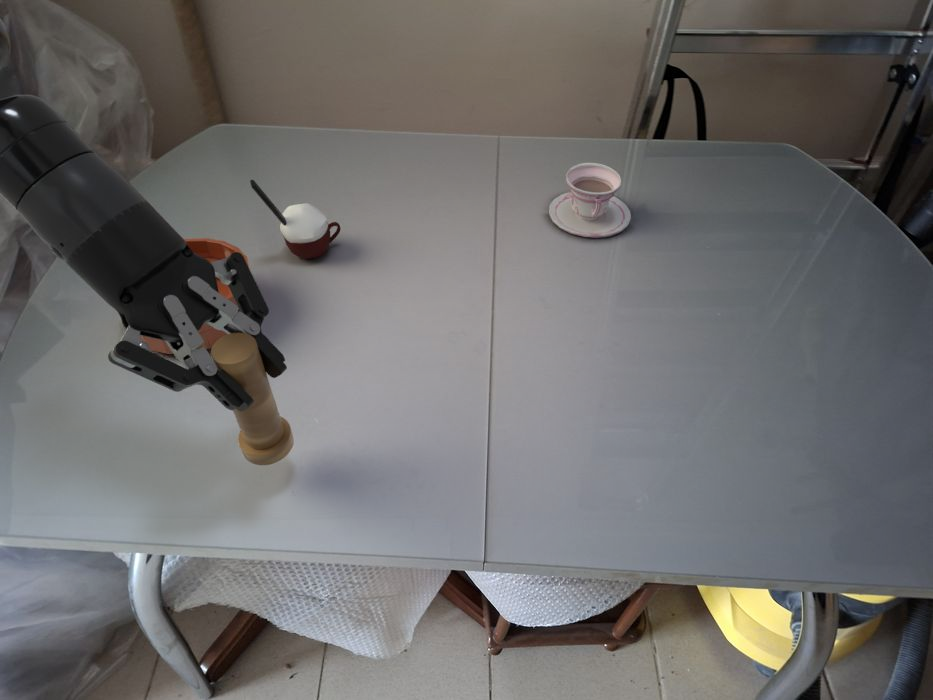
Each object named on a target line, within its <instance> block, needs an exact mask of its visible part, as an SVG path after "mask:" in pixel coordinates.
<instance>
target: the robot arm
mask: <svg viewBox="0 0 933 700" xmlns="http://www.w3.org/2000/svg"><path fill="white" fill-rule="evenodd" d="M11 46H12V45H11V38H10V33H9V31H8V29H7V27H6V25H5V23H4V21H3V20H2V19H1V17H0V71H1V70H2V69H3V68H4V67H5V66H6V64H8V62H9V59H10V56H11V50H12V49H11ZM0 196H1V197H2V198H3V199H4V200H5V201H6V202H7V203H8V204H9V205H10V206H11V207H12V208H14V210H16V211H17V212H18V214H19V215H20V216H21V217H22V218H23V219H24V220H25V222H26V223H27V225H29V226H30V228H31V229H32V230H33V232H34V233H35V234H36V235H37V237H39V239H40V240H42V242H43V243H44V244H46V246H47V247H48V248H49V249H50V251H51V252H52V253H53V254H54V256H56V257H57V258H58V259H61V260H62V261H64V263H65V264H66V265H67V266H68V267H69V268H70V269H71V270H73V271H74V273H75V274H76V275H78V277H80V278H81V279H82V281H84V283H86V284H87V285H88V286H89V287H90V288H91V289H92V290H93V291H94V292H95V293H96V294H98V296H99V297H100V298H101V299H103V300H104V302H106V303H107V304H108V305H109V306H110V307H111V308H112V309H114V310H115V311H116V312H117V313H118V315H119V317H120V319H121V323H122V325H123V327H124V328H125V330H124V332H123V333H122V335H121V337H120V339H119V341H118V342H117V343H116V345H114V347H113V348H112V349H111V350H110V351H109V353H108V355H107V359H108V361H109V362H110V363H111V364H113V365H115V366H117V367H120V368H122V369H124V370H126V371H128V372H131V373H133V374H135V375H137V376H139V377H142V378H144V379H146V380H148V381H151V382H152V383H155V384H157V385H160V386H161V387H164V388H166V389H168V390H171V391H172V392H176V393H179V392H182V391H183V390H186V389H189V388H191V387H194V386H196V385H197V386H202V387H204V388H205V389H206V390H207V391H208V392H209V393H210V394H211V395H212V396H213V397H214V398H215V399H216V400H217V401H218V402H219V403H221V405H222V406H223V407H224V408H226V409H228V410H230V411H232V412H233V410H235V409H237V410H238V411H241V412H242V411H244V410H246V409H248V408H249V407H250V406H251V405H252V404H253V403H254V400H253V398H252V397H251V396H250V395H249V394H248V393H247V392H246V391H245V390H244V389H243V388H242V387H241V386H240V385H239V384H238V383H237V382H236V381H235V380H234V379H233V378H232V377H231V376H230V375H229V374H228V373H227V372H226V371H225V370H223V369H221V370H220V371H218V370H217V365H216V364H215V362H214V361H213V359H212V357H211V353H209V351H208V349H206V348H205V343H204V340H203V339H202V337H201V335H200V334H199V332H198V331H199V330H200V328H201V327H202V326H203V325H205V324H209V325H210V326H212V327H213V328H215V329H217V330H222V331H224V332H225V333H227V334H231V333H246V334H249V335H251V336H252V337H253V338H254V339H255V340H256V343H257V346H258V349H259V352H260V355H261V358H262V362H263V365H264V368H265V371H266V374H267V376H269V377H271V378H273V379H276V378H278V377H279V376H281V375H282V374H283V373H285V372H286V371H287V369H288V368H287V365H286V363H285V361H286V358H285V356H284V354H283V353H282V352H281V350H280V349H278V347H276V346H275V345H274V344H273V342H272V341H271V340H270V339H269V338H268V337H267V336H266V335H265V334H264V333H263V331H262V328H261V327H262V324H263V321H264V319H265V317H267V316H268V315H269V312H270V309H269V307H268V305H267V303H266V301H265V299H264V297H263V294H262V292H261V290H260V288H259V285H258V284H257V281H256V280H255V277H254V275H253V273H252V270H251V268H250V269H249V267H248V265H247V263H246V261H245V259H244V257H243V255H242V254H241V253H239V252H234V253H232V254H231V255H230V256H228V257H227V258H225V259H221V260H217V261H214V262H209V261H208V260H207V259H205V258H202V257H200V256H198V255H196V254H195V253H193V252H192V251H191V249H190V248H189V246H188V245H187V243H186V241H185V240H184V238H183V237H182V236H181V235H180V234H179V233H178V231H177V230H175V228H173V227H172V225H171V224H170V223H169V222H168V221H167V220H166V219H165V218H164V217H163V216H162V215H161V214H160V212H158V211H157V210H156V209H155V207H154V206H153V205H152V204H151V203H149V201H148V200H147V199H146V198H145V197H144V196H143V195H142V194H141V193H140V192H139V191H138V190H137V189H136V188H135V187H134V185H132V183H130V182H129V180H128V179H127V178H125V177H124V176H123V175H122V173H120V172H119V171H118V170H116V169H115V168H114V167H113V166H112V165H111V164H109V163H108V162H107V161H105V160H104V159H103V158H102V157H101V156H100V155H99V154H98V153H96V151H95V149H93V148H92V146H90V145H89V143H87V141H85V139H83V138H82V137H81V135H79V133H78V132H77V131H76V130H75V129H74V128H73V126H71V125H70V124H69V123H68V122H67V121H66V120H65V118H64V117H63V116H62V115H61V114H60V113H59V112H58V111H56V110H55V109H54V108H53V106H51V105H50V104H49V103H48V102H47V101H45V100H44V99H42V98H41V97H38V96H36V95H33V94H16V95H12V96H8V97H5V98H1V99H0ZM250 270H251V271H250ZM216 277H218V278H219V279H220V280H221V282H222V283H223V284H225V285H228V286H229V289H230V291H231V293H232V295H233V297H234V299H235V301H236V303H237V305H238V306H237V305H236V304H234V303H233V302H231V301H230V300H228V299H227V298H225V297H224V296H223V295H221V294H220V293H219V291H218V286H217V280H216ZM140 335H141V336H146V337H150V338H155V339H160V340H164V341H165V342H166V343H167V345H168V346H169V348H170V349H171V351H172V352H173V355H174V357H175V358H176V360H178V361H180V362H181V363H182V365H183V366H182V365H179V364H177V363H175V362H173V361H171V360H168V359H167V358H164V357H162V356H160V355H158V354H156V353H154V352H151V350H149V346H148V344H147V343H146V342H144V341H143V340H142V339H141V337H140ZM177 344H178V345H177Z"/></svg>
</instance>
